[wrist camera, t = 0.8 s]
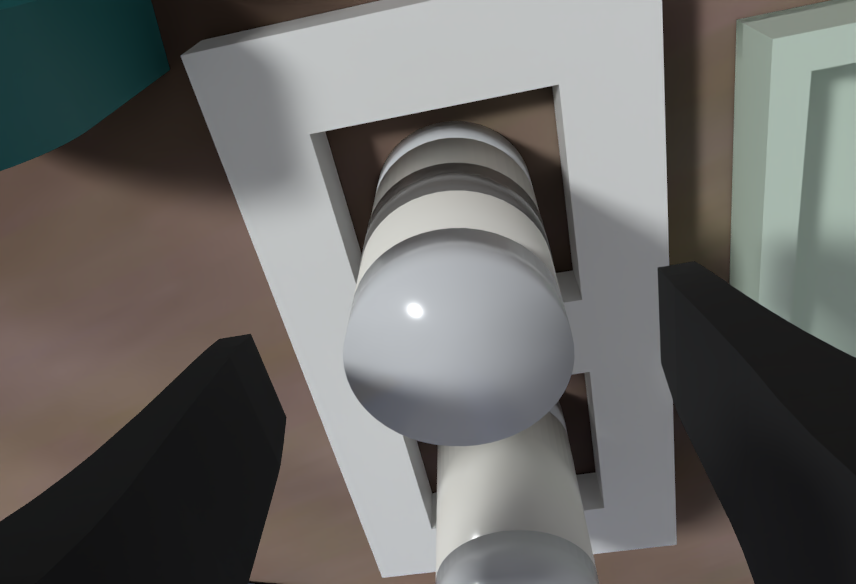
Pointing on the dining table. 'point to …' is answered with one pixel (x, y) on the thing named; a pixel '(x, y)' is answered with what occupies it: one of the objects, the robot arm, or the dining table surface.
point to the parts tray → (797, 167)
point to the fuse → (513, 511)
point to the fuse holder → (585, 206)
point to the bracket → (70, 68)
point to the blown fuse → (457, 294)
